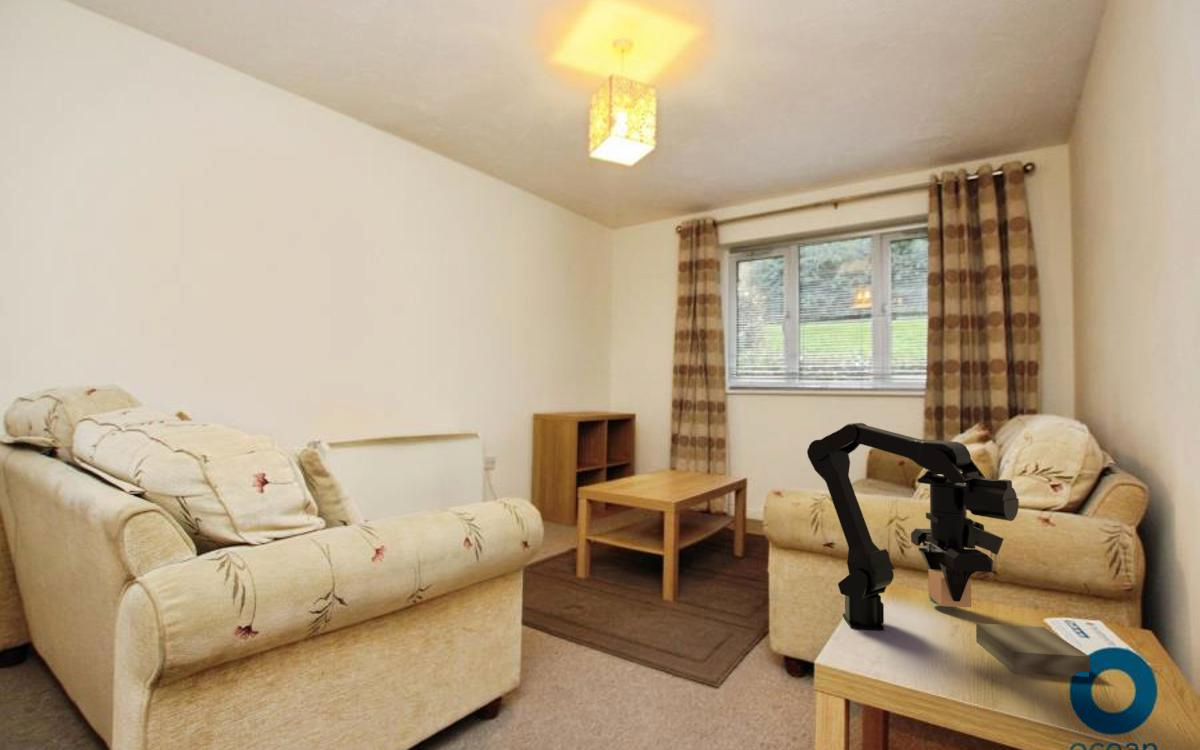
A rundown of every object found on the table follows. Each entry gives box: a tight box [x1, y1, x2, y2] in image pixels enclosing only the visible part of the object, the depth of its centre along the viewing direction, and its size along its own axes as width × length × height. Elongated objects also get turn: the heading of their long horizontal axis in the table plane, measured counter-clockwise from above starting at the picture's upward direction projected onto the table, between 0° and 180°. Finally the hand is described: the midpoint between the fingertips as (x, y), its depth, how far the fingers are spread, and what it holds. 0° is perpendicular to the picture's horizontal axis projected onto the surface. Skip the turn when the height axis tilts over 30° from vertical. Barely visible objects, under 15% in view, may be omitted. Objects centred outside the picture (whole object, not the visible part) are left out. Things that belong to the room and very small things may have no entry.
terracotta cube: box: [928, 569, 972, 608], centre depth 103 cm, size 5×5×5 cm
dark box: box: [975, 622, 1091, 678], centre depth 102 cm, size 12×12×4 cm
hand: (949, 595), depth 103 cm, fingers closed on terracotta cube, 5 cm apart
